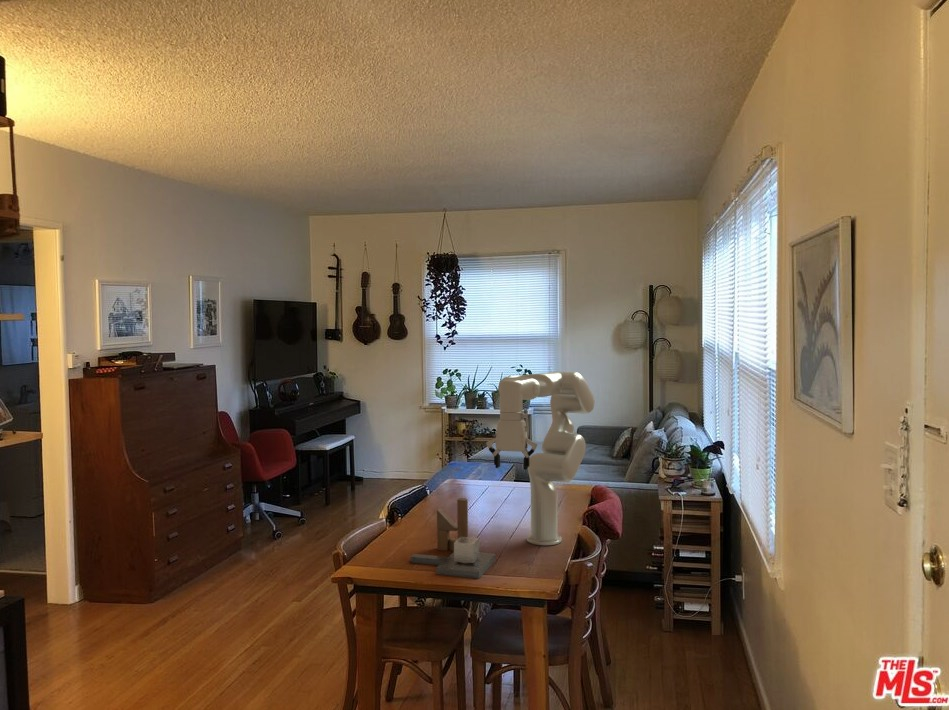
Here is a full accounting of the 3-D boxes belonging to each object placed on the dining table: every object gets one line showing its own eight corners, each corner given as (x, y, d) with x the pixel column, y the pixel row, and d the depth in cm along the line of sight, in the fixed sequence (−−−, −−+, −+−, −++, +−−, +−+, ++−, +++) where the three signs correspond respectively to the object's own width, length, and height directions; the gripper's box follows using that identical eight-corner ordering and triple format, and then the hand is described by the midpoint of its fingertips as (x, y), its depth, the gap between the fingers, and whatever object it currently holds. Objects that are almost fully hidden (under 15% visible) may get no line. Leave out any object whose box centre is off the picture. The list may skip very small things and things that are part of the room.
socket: (460, 554, 225) (460, 536, 225) (479, 556, 223) (479, 538, 223) (454, 561, 219) (453, 542, 219) (473, 562, 217) (473, 544, 217)
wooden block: (440, 547, 241) (439, 496, 241) (469, 549, 239) (469, 498, 238) (437, 550, 238) (436, 498, 237) (467, 552, 235) (466, 500, 235)
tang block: (422, 552, 235) (422, 533, 235) (495, 559, 227) (495, 539, 227) (401, 570, 218) (401, 549, 218) (479, 578, 210) (478, 556, 210)
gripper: (539, 416, 228) (539, 467, 229) (489, 414, 233) (490, 464, 234) (534, 419, 221) (534, 471, 221) (483, 417, 226) (483, 468, 227)
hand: (511, 468), depth 228 cm, fingers open, 9 cm apart
